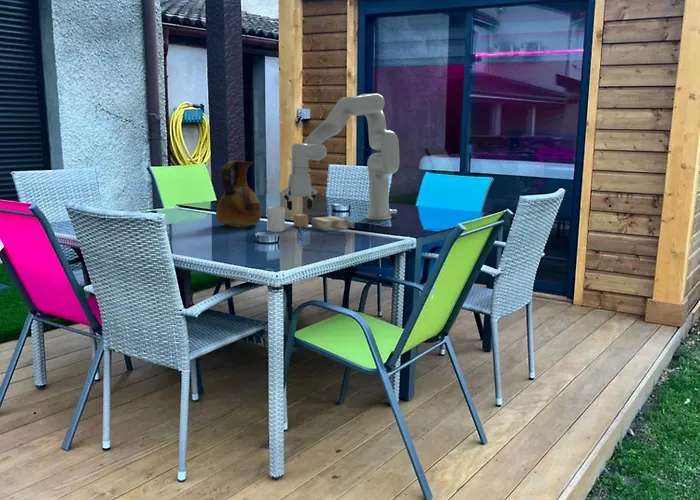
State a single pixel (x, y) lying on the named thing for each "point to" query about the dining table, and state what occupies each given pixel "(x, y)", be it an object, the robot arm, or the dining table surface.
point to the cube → (300, 220)
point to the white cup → (276, 218)
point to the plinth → (329, 223)
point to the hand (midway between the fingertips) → (299, 209)
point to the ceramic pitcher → (237, 197)
